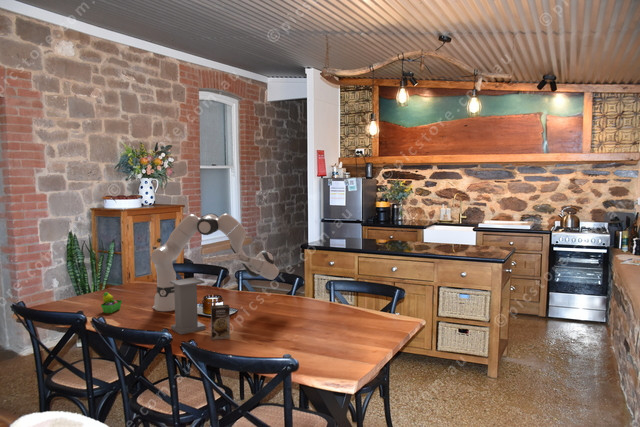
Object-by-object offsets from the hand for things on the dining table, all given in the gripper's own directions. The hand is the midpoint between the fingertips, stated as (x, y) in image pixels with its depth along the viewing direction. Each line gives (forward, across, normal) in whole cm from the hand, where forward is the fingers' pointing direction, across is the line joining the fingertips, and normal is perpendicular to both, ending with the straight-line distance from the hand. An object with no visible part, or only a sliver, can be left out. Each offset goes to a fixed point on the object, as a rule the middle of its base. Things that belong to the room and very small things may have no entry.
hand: (237, 255), depth 282 cm
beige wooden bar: (+7, 0, +6) cm, 9 cm away
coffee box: (+2, +23, +44) cm, 49 cm away
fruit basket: (+27, -62, +58) cm, 89 cm away
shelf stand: (+8, 0, +47) cm, 48 cm away
